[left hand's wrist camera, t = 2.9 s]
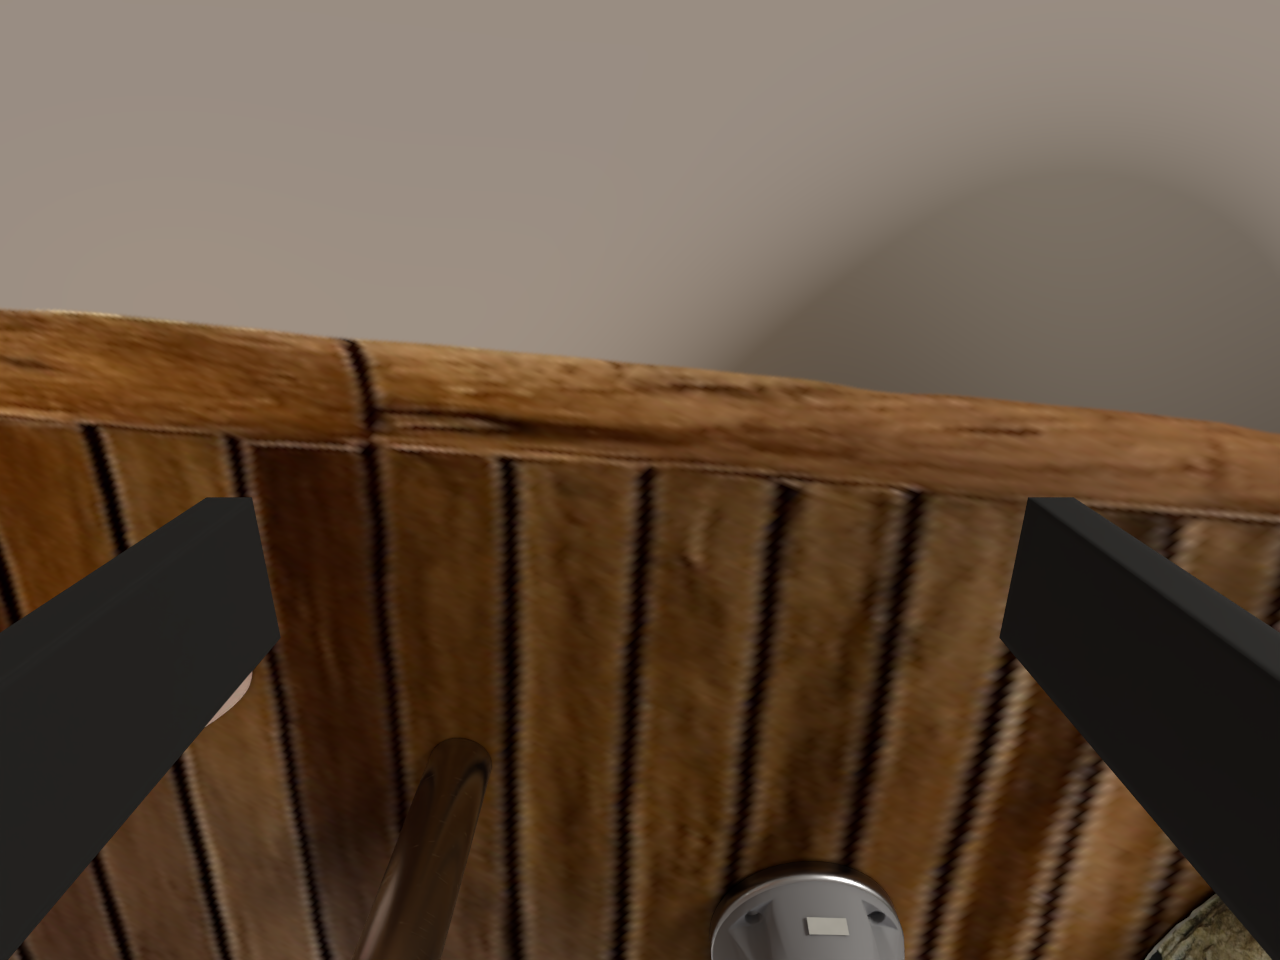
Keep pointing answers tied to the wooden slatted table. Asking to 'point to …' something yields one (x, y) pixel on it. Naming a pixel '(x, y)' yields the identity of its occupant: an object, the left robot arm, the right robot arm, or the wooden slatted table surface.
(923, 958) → the wooden slatted table surface
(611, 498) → the wooden slatted table surface
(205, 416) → the wooden slatted table surface
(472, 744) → the bottle
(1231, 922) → the fossil
